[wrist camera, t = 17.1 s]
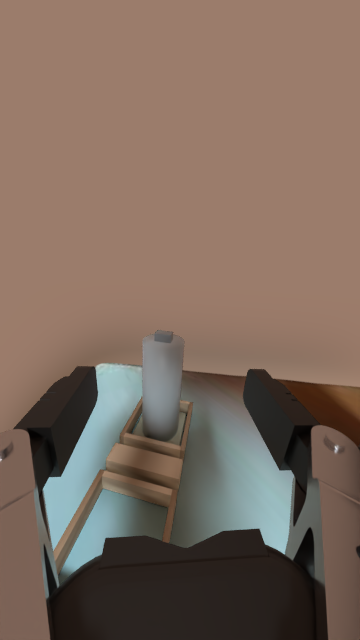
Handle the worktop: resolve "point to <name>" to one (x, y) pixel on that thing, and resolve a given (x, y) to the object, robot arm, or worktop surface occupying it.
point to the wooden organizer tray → (135, 475)
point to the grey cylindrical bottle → (161, 384)
